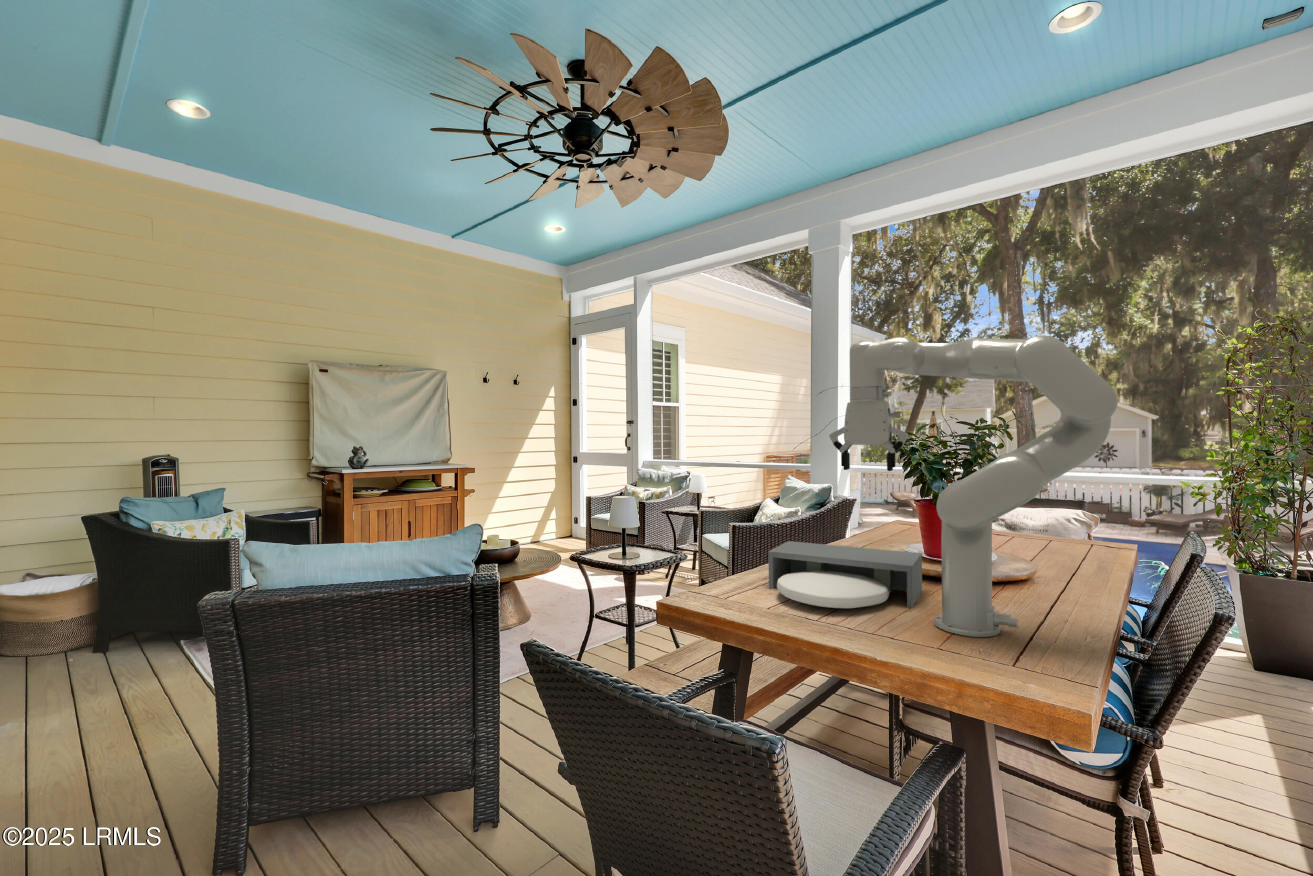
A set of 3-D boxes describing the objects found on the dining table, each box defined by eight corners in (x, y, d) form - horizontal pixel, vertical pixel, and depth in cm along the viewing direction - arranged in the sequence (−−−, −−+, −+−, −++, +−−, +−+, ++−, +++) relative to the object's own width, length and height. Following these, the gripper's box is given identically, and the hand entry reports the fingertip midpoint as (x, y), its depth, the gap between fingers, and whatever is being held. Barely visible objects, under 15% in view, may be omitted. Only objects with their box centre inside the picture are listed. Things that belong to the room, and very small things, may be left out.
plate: (806, 563, 167) (903, 577, 150) (805, 586, 166) (902, 603, 150) (757, 572, 145) (865, 590, 128) (756, 598, 145) (864, 620, 128)
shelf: (922, 591, 153) (921, 553, 153) (912, 607, 139) (912, 566, 139) (788, 575, 172) (788, 541, 172) (768, 588, 158) (768, 551, 158)
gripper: (910, 395, 134) (910, 469, 134) (833, 398, 143) (834, 468, 143) (904, 393, 127) (905, 472, 127) (825, 397, 136) (825, 470, 137)
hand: (867, 470), depth 135 cm, fingers open, 9 cm apart
